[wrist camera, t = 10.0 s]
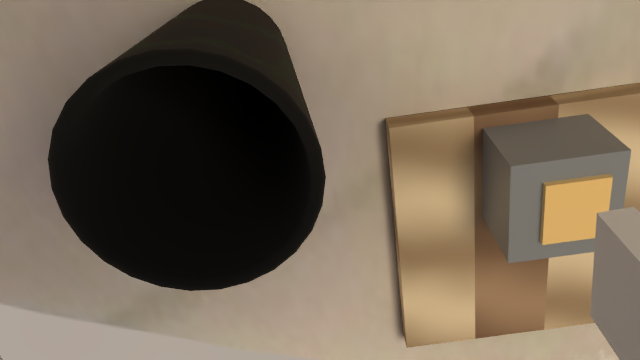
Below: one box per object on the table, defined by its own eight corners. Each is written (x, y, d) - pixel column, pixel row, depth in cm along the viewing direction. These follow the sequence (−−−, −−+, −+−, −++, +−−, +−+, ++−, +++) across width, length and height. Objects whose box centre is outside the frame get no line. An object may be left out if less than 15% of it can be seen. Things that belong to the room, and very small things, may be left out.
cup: (327, -7, 26) (354, 83, 16) (293, 147, 30) (296, 308, 19) (149, -47, 25) (47, 22, 14) (135, 119, 28) (45, 272, 18)
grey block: (482, 128, 28) (513, 169, 24) (588, 113, 28) (635, 153, 24) (482, 216, 31) (510, 267, 27) (579, 204, 30) (621, 252, 27)
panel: (385, 118, 29) (389, 128, 28) (881, 49, 29) (904, 56, 28) (403, 333, 36) (406, 347, 35) (806, 279, 35) (821, 292, 34)
